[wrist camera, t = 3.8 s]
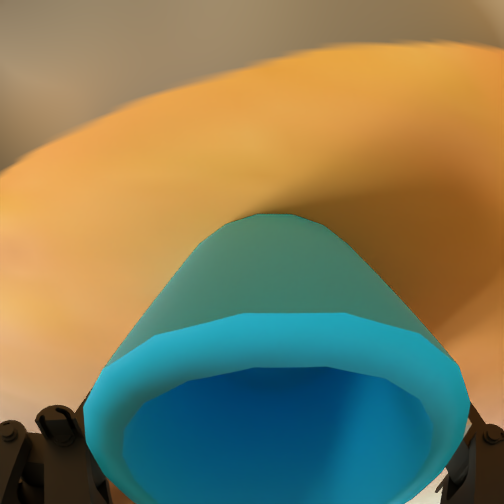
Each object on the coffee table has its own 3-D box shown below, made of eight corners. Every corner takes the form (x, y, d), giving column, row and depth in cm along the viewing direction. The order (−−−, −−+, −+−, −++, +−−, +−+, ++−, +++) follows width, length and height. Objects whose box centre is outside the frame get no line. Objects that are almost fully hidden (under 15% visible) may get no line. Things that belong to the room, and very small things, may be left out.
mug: (155, 230, 12) (17, 328, 4) (362, 199, 11) (508, 263, 4) (218, 440, 15) (197, 566, 7) (364, 423, 15) (400, 546, 7)
